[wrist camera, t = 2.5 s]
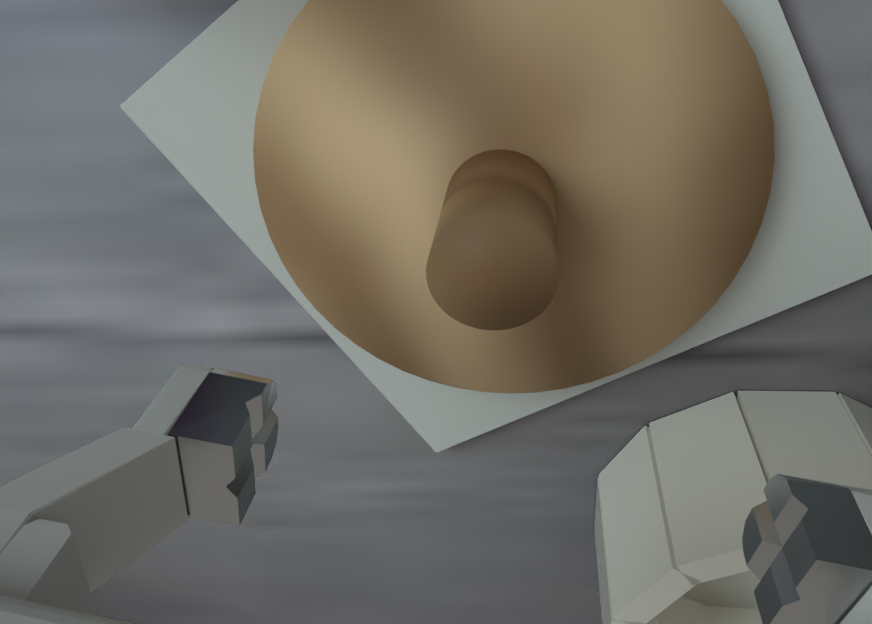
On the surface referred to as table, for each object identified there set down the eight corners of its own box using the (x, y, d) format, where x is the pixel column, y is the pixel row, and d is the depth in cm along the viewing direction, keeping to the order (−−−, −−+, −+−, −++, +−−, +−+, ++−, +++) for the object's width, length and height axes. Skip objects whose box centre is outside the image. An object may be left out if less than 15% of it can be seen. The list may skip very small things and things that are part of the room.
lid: (444, 426, 25) (425, 539, 21) (168, 117, 19) (67, 188, 15) (839, 256, 19) (921, 367, 15) (608, -258, 13) (639, -307, 9)
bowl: (673, 625, 31) (698, 769, 26) (540, 463, 26) (540, 603, 21) (970, 555, 26) (1071, 717, 21) (875, 338, 21) (977, 484, 16)
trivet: (438, 441, 26) (436, 452, 26) (129, 99, 20) (119, 106, 19) (877, 257, 20) (886, 268, 19) (631, -346, 13) (634, -354, 13)
